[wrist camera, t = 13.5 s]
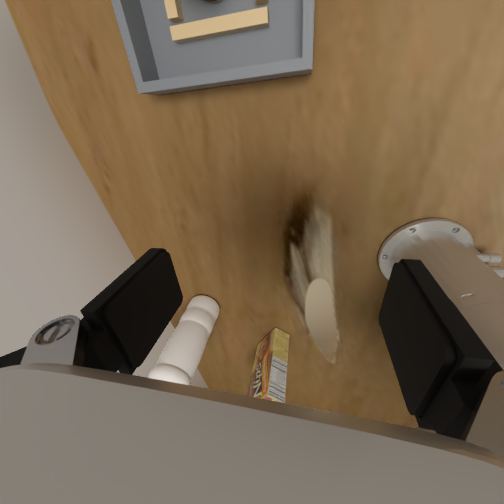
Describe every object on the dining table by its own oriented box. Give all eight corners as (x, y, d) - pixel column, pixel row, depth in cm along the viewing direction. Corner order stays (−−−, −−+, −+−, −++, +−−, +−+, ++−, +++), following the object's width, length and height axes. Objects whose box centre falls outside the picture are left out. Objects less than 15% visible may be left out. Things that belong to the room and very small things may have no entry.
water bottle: (226, 309, 52) (177, 443, 32) (206, 319, 56) (150, 446, 35) (204, 289, 50) (135, 418, 30) (185, 301, 53) (111, 425, 33)
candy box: (271, 351, 58) (262, 420, 45) (256, 344, 57) (243, 412, 45) (290, 333, 53) (286, 406, 40) (274, 325, 52) (265, 396, 40)
